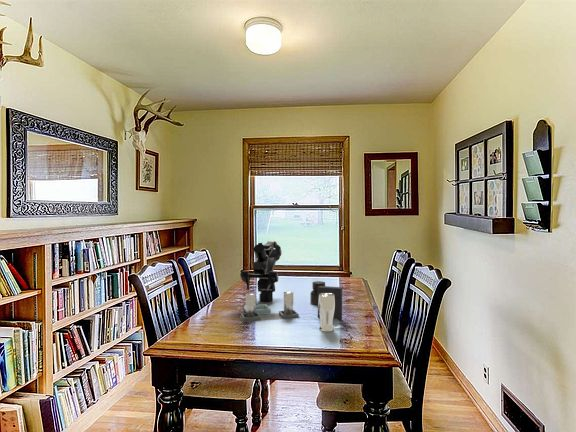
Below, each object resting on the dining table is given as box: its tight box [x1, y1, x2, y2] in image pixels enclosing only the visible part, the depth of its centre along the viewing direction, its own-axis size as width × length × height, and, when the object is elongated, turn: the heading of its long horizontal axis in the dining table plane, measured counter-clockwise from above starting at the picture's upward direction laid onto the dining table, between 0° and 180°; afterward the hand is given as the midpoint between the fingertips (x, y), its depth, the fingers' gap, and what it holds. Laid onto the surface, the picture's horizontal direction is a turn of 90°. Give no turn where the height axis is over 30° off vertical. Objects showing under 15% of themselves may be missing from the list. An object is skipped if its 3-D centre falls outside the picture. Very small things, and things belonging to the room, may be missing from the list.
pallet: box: [239, 309, 301, 323], centre depth 190 cm, size 27×10×2 cm, turn 104°
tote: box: [243, 303, 272, 315], centre depth 201 cm, size 11×11×3 cm
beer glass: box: [317, 293, 335, 333], centre depth 174 cm, size 7×7×15 cm
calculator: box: [317, 285, 343, 322], centre depth 190 cm, size 11×4×15 cm, turn 71°
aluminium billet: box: [245, 292, 257, 317], centre depth 188 cm, size 4×4×11 cm
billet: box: [283, 290, 294, 315], centre depth 193 cm, size 4×4×11 cm
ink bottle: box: [309, 280, 326, 306], centre depth 218 cm, size 10×9×12 cm
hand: (256, 290), depth 202 cm, fingers open, 9 cm apart
